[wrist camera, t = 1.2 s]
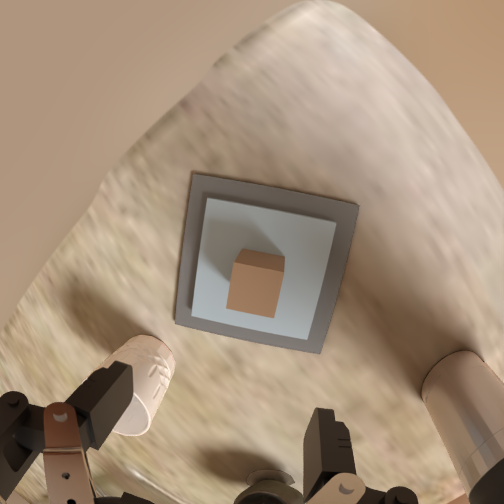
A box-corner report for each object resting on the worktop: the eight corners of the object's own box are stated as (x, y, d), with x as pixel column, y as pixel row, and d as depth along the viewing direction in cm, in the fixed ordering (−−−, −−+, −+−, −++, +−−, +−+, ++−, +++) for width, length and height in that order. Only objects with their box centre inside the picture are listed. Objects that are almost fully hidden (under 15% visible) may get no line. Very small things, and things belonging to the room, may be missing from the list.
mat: (358, 205, 29) (359, 205, 29) (319, 351, 33) (320, 354, 32) (194, 173, 30) (193, 173, 30) (176, 322, 34) (174, 323, 33)
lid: (334, 221, 29) (346, 232, 23) (306, 335, 32) (309, 366, 26) (209, 197, 30) (191, 202, 24) (194, 311, 33) (175, 338, 27)
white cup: (189, 351, 35) (159, 404, 25) (168, 394, 37) (139, 446, 27) (130, 317, 35) (85, 360, 25) (115, 363, 37) (76, 408, 27)
